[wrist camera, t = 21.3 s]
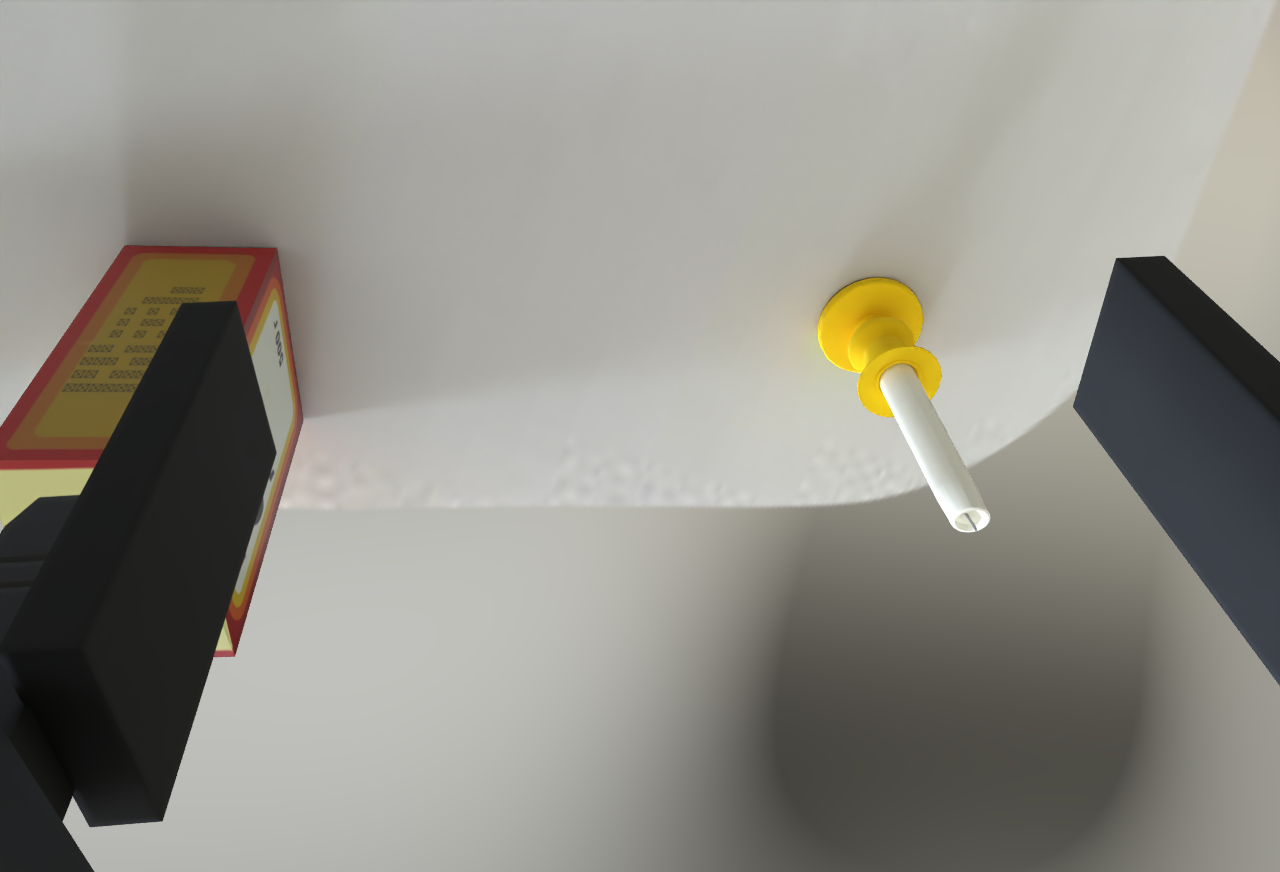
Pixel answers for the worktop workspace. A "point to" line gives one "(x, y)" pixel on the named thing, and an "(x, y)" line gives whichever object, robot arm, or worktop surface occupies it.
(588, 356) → the worktop surface
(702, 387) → the worktop surface
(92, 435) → the baking soda box
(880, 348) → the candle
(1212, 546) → the robot arm
